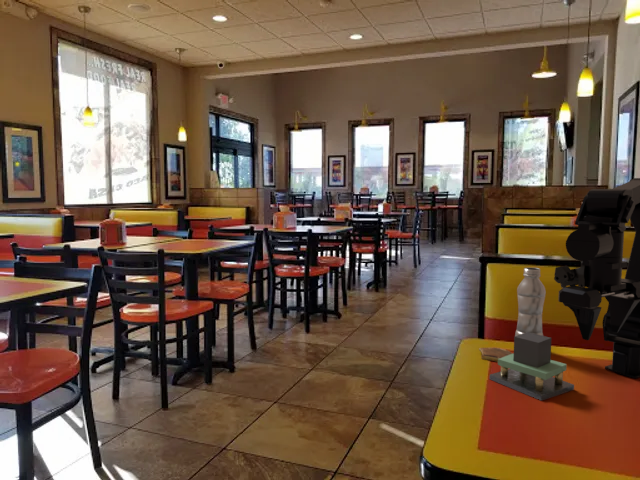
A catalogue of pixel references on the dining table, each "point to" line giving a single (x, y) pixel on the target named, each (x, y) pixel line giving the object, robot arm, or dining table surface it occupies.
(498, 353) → the shard
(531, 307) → the plastic bottle
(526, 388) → the chassis
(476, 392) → the dining table surface
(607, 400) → the dining table surface
